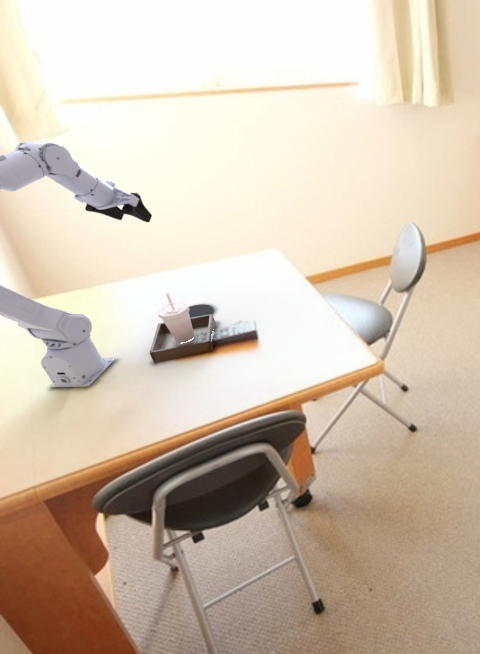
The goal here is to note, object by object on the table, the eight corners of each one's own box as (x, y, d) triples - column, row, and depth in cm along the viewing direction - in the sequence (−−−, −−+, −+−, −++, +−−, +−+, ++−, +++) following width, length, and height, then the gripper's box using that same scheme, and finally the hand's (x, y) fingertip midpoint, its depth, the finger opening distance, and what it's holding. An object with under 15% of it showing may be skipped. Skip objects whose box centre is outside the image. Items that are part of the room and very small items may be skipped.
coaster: (204, 323, 128) (204, 321, 128) (169, 323, 127) (168, 322, 127) (219, 305, 135) (218, 304, 135) (186, 305, 135) (185, 304, 135)
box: (212, 351, 118) (208, 341, 116) (154, 363, 114) (149, 352, 112) (215, 323, 128) (212, 313, 126) (162, 333, 124) (158, 323, 122)
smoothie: (179, 353, 117) (157, 303, 109) (167, 343, 120) (145, 294, 112) (206, 340, 121) (186, 292, 113) (193, 331, 124) (174, 283, 117)
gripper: (121, 170, 106) (167, 205, 119) (64, 167, 108) (115, 201, 121) (109, 198, 104) (157, 230, 117) (50, 194, 106) (104, 226, 119)
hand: (135, 217), depth 119 cm, fingers open, 7 cm apart
